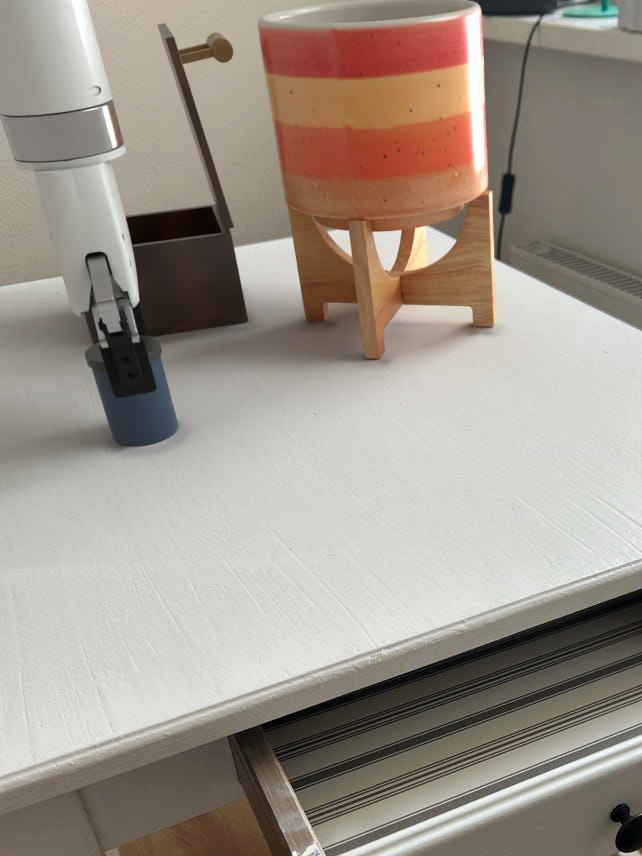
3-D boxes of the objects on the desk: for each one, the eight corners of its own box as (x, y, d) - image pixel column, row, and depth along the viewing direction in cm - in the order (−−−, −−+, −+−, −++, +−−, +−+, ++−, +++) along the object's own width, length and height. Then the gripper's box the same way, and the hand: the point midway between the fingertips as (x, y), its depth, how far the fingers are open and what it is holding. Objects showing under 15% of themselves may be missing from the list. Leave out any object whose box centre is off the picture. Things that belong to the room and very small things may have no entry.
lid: (165, 38, 86) (229, 23, 86) (157, 24, 95) (215, 11, 96) (226, 229, 96) (283, 214, 97) (213, 200, 106) (265, 186, 106)
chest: (93, 345, 98) (66, 255, 93) (93, 306, 108) (68, 222, 103) (248, 321, 102) (231, 233, 96) (234, 285, 111) (218, 203, 106)
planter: (337, 287, 109) (299, 1, 93) (513, 290, 105) (505, -7, 89) (272, 355, 94) (212, 28, 77) (475, 363, 90) (457, 20, 74)
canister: (102, 449, 80) (75, 364, 75) (119, 418, 84) (95, 336, 80) (173, 444, 80) (151, 359, 75) (186, 414, 84) (166, 332, 80)
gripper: (16, 123, 74) (86, 343, 84) (0, 167, 61) (85, 422, 71) (117, 110, 76) (174, 328, 86) (123, 151, 62) (189, 403, 73)
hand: (134, 370), depth 79 cm, fingers open, 9 cm apart
